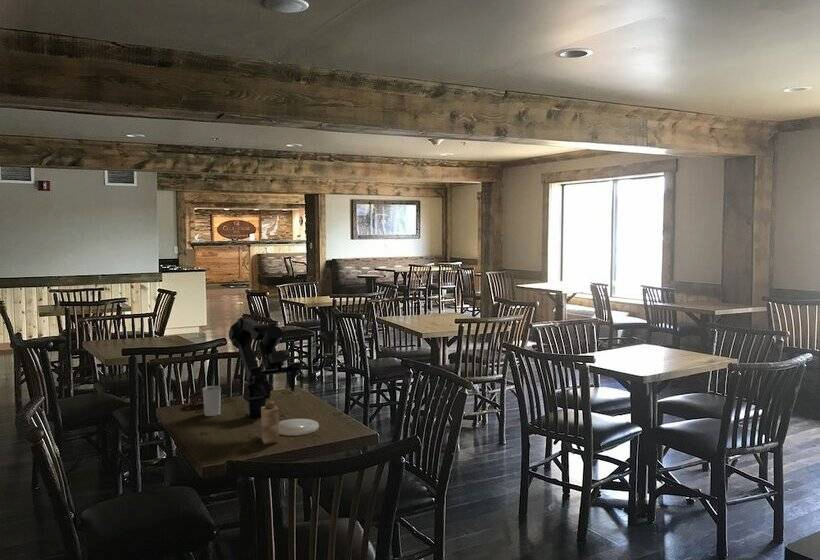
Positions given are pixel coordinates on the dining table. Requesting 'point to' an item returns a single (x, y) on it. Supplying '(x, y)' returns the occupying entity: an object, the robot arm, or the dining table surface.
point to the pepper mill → (270, 423)
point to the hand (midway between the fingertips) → (280, 393)
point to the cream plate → (297, 427)
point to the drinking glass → (212, 400)
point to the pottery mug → (196, 396)
